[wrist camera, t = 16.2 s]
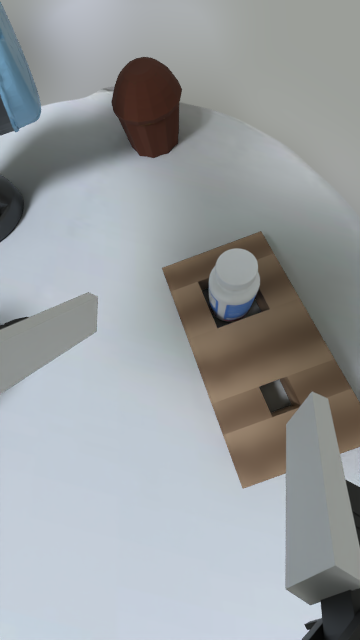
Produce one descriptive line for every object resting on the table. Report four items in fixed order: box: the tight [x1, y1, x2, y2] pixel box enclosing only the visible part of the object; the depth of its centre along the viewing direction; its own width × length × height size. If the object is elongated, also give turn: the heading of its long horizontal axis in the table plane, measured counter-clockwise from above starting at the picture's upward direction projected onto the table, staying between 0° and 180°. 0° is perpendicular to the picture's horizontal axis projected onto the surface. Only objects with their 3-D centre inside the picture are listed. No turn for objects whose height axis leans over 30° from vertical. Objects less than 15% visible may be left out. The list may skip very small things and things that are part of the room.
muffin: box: [111, 57, 182, 158], centre depth 37 cm, size 12×11×10 cm
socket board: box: [162, 231, 360, 488], centre depth 27 cm, size 26×14×3 cm, turn 19°
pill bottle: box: [209, 248, 260, 322], centre depth 26 cm, size 6×5×10 cm
